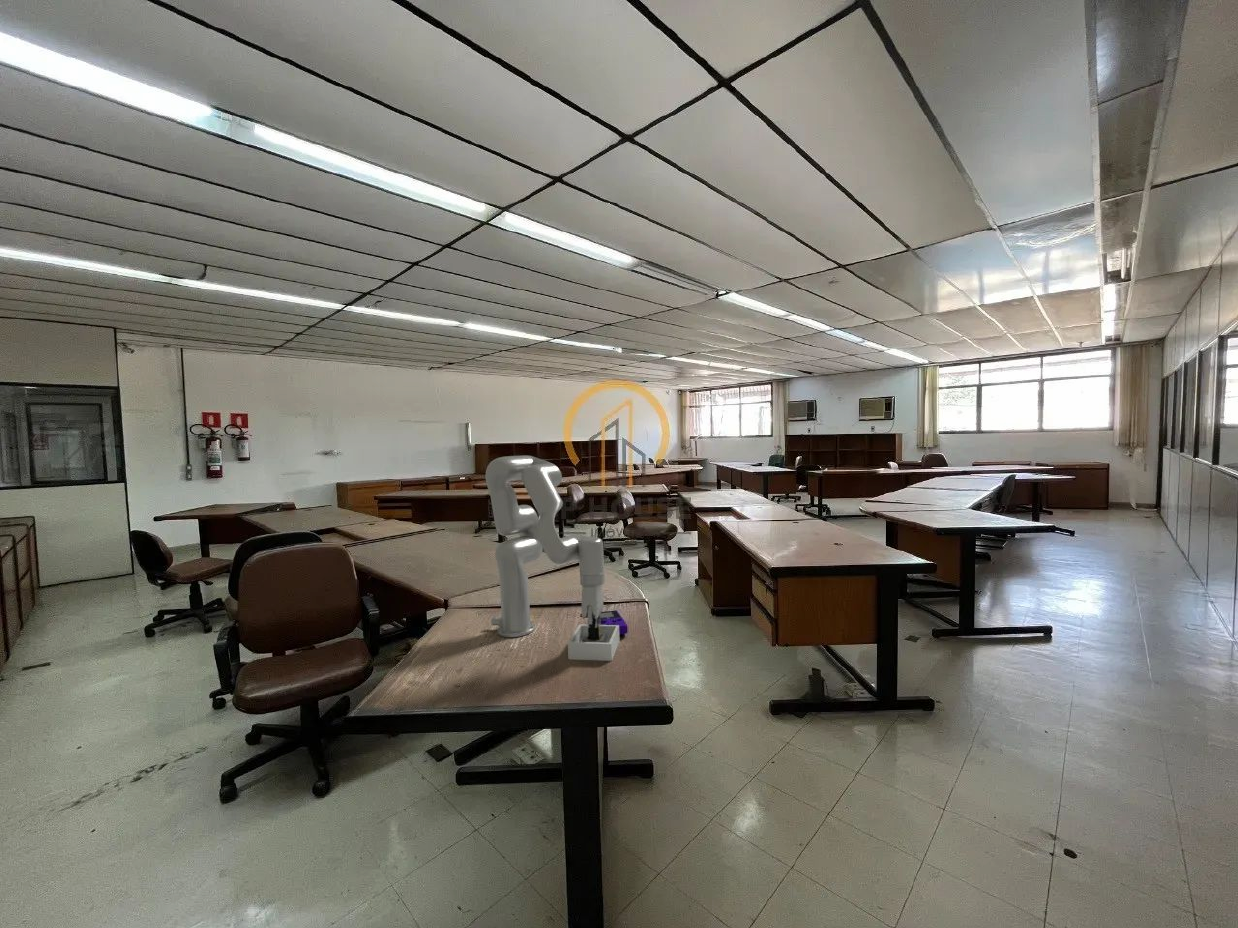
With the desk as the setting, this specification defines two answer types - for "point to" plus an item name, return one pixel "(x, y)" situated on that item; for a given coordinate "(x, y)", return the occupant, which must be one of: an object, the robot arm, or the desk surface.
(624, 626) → the handheld gaming console
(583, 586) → the robot arm
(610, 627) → the box
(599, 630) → the peg
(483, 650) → the desk surface
